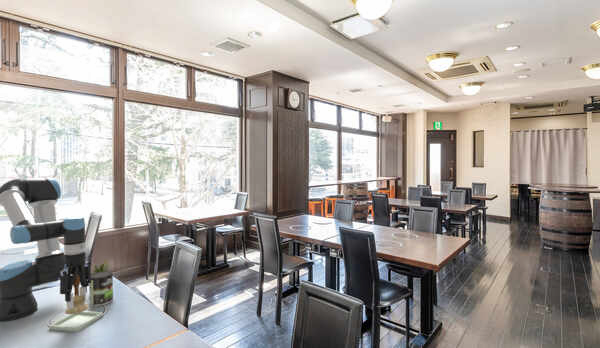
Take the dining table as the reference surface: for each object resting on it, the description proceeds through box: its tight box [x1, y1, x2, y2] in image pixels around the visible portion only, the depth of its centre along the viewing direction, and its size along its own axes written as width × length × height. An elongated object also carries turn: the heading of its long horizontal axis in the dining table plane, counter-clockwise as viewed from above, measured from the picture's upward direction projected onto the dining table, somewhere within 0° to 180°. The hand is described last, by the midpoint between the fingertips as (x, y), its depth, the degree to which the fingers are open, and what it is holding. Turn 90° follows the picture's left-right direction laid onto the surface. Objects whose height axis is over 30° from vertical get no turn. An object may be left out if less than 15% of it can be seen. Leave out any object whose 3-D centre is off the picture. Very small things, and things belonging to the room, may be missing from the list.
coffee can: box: [88, 270, 114, 307], centre depth 155 cm, size 10×10×14 cm
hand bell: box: [64, 274, 89, 315], centre depth 134 cm, size 8×8×16 cm
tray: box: [48, 310, 104, 334], centre depth 134 cm, size 14×14×2 cm
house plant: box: [90, 260, 113, 274], centre depth 168 cm, size 14×14×16 cm
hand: (76, 304), depth 134 cm, fingers closed on hand bell, 6 cm apart
